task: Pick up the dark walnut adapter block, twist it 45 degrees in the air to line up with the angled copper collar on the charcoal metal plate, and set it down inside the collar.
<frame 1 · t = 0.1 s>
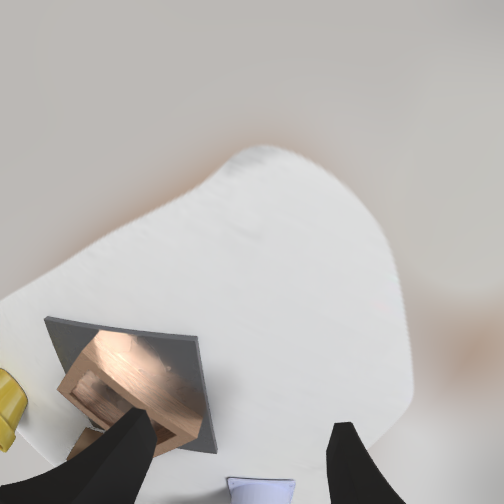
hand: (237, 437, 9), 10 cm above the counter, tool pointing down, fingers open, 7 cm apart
duct collar: (131, 393, 23), on the counter
plant pot: (13, 385, 28), on the counter
adapter block: (107, 446, 28), on the counter
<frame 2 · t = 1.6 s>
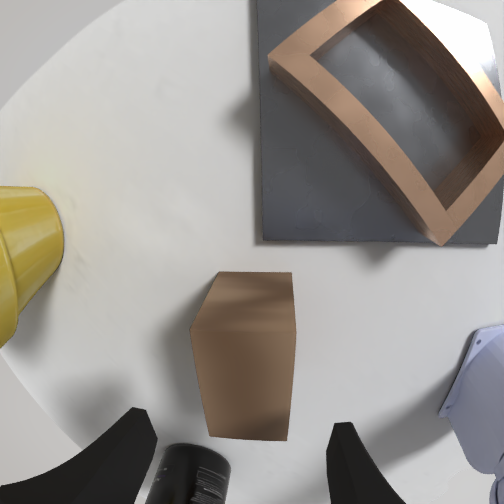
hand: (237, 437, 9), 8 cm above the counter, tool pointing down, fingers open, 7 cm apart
duct collar: (401, 103, 12), on the counter
supplement bottle: (198, 458, 23), on the counter
plant pot: (36, 232, 17), on the counter
adapter block: (256, 325, 17), on the counter
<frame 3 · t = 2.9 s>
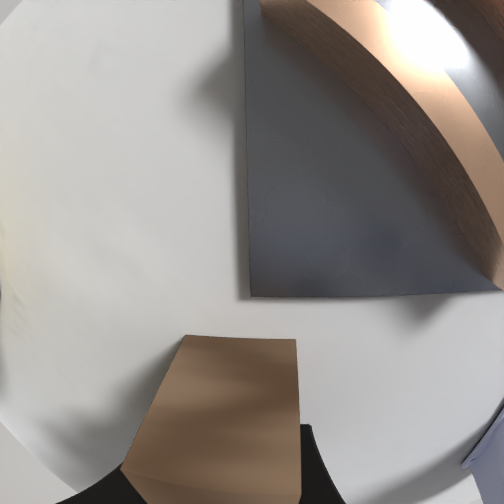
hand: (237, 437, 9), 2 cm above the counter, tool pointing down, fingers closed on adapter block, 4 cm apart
duct collar: (465, 78, 6), on the counter
adapter block: (243, 402, 11), on the counter, touching gripper
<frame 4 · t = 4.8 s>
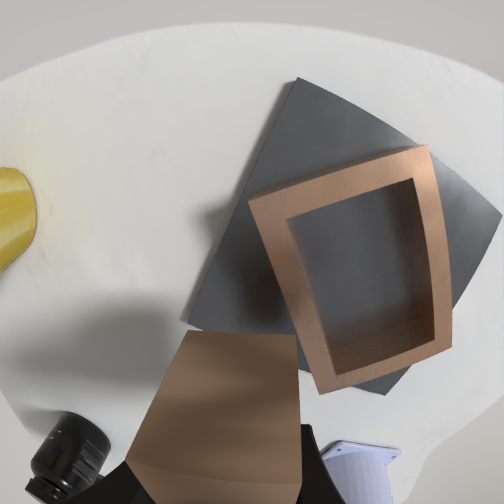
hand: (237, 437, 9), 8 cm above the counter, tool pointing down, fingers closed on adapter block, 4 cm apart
duct collar: (359, 266, 16), on the counter
supplement bottle: (88, 430, 25), on the counter
plant pot: (14, 210, 17), on the counter
adapter block: (243, 397, 12), point 6 cm above the counter, touching gripper
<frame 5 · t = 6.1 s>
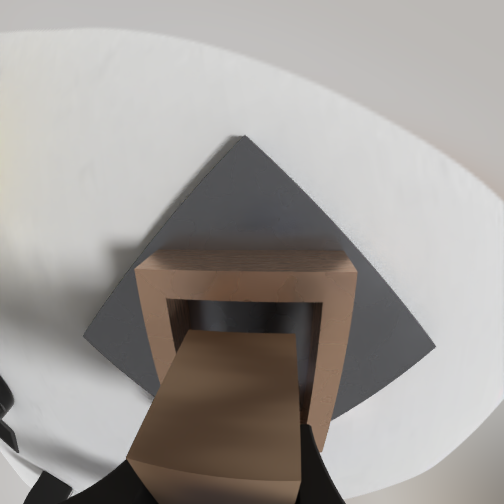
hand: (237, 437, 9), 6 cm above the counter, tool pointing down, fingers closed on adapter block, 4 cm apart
duct collar: (252, 348, 15), on the counter
cell phone: (3, 428, 28), on the counter
battery charger: (59, 480, 31), on the counter
adapter block: (244, 396, 12), point 4 cm above the counter, touching gripper
when the fingers open (4 cm above the counter, at t = 7.0 s): adapter block stays where it is, resting on duct collar.
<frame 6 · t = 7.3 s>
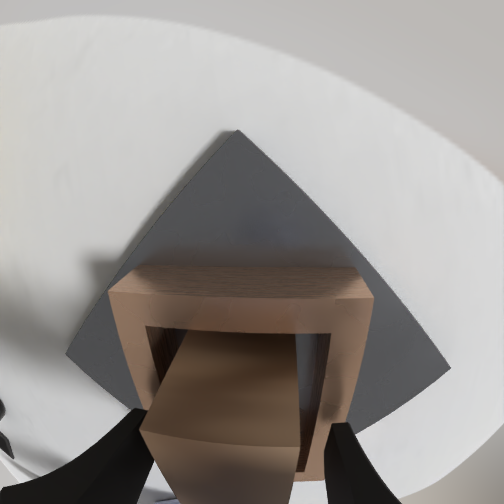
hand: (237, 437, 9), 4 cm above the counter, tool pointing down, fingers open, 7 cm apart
duct collar: (248, 373, 13), on the counter
adapter block: (246, 381, 13), point 1 cm above the counter, touching duct collar
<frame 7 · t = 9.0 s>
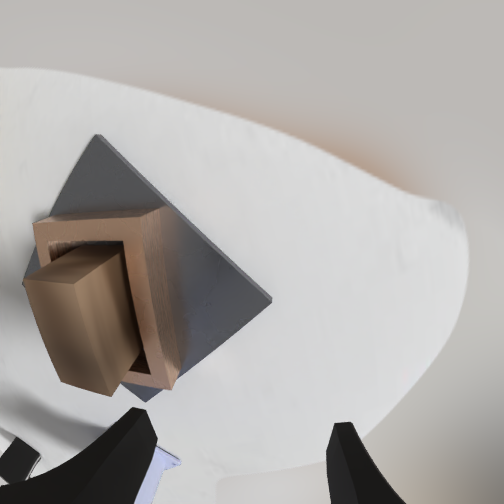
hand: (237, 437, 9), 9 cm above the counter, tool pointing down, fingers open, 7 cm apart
duct collar: (118, 290, 19), on the counter
battery charger: (30, 447, 35), on the counter
adapter block: (114, 294, 18), point 1 cm above the counter, touching duct collar
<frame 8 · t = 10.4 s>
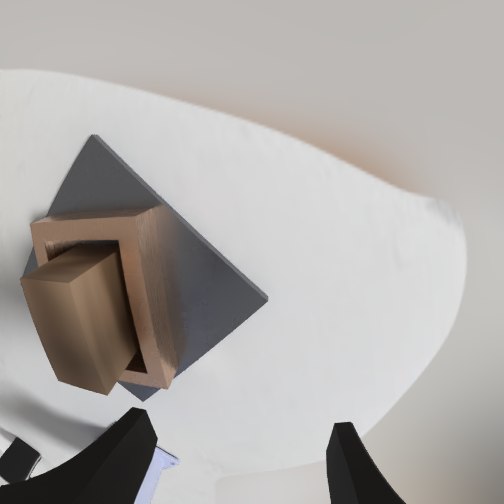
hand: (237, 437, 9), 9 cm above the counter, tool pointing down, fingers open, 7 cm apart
duct collar: (115, 289, 19), on the counter
battery charger: (30, 447, 35), on the counter
adapter block: (110, 293, 18), point 1 cm above the counter, touching duct collar
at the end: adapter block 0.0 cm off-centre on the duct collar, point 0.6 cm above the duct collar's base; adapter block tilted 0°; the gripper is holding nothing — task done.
